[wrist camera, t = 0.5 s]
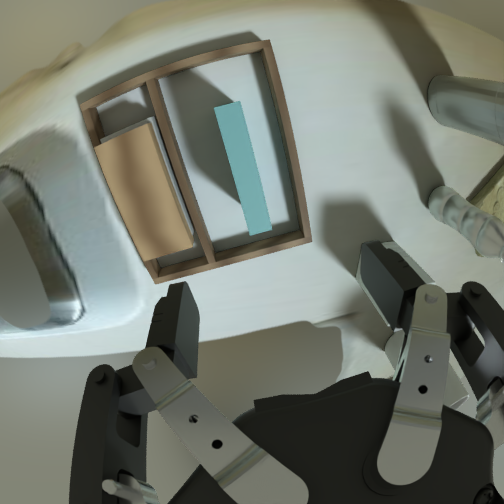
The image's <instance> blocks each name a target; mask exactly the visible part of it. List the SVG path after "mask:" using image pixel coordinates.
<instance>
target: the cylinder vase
mask: <svg viewBox="0 0 504 504" xmlns="http://www.w3.org/2000/svg"><path fill="white" fill-rule="evenodd" d="M404 334H405V333H404V331H403V329H402V330H399V331H396V332H395V333H394V334H393V335H392V336H391V337H390V338H389V340H388V341H387V343H386V346H385V353H386V355H387V357H388V359H389V360H390V362H391V364H392V366H393V368H394V370H396V366H397V362H398V358H399V354H400V350H401V345H402V341H403V337H404ZM468 398H469V394H468V392H467V391H466V389H465V387H464V386H463V384H462V382H461V381H460V379H459V377H458V376H457V374H456V372H455V371H454V369H453V368H452V366H451V365H450V363H449V365H448V374H447V382H446V389H445V395H444V401H443V404H444V405H446V406H448V407H450V408H452V409H454V410H456V409H458V408H459V407H460V406H461V405H462V404H463V403H464V402H465V401H466V400H467V399H468Z"/></svg>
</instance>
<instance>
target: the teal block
mask: <svg viewBox="0 0 504 504" xmlns="http://www.w3.org/2000/svg"><path fill="white" fill-rule="evenodd" d="M214 111H215V114H216V118H217V121H218V125H219V128H220V132H221V135H222V139H223V142H224V146H225V149H226V153H227V156H228V160H229V163H230V167H231V170H232V174H233V177H234V181H235V184H236V188H237V191H238V195H239V198H240V202H241V205H242V209H243V212H244V216H245V220H246V223H247V227H248V230H249V234H250V236H251V235H255V234H258V233H262V232H266V231H269V230H272V226H271V222H270V217H269V213H268V209H267V205H266V201H265V197H264V192H263V188H262V184H261V180H260V176H259V172H258V168H257V164H256V160H255V156H254V152H253V148H252V144H251V141H250V137H249V133H248V129H247V125H246V121H245V118H244V114H243V110H242V106H241V103H240V101H238V102H233V103H229V104H226V105H222V106H218V107H215V108H214Z"/></svg>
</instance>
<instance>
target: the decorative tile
mask: <svg viewBox="0 0 504 504" xmlns="http://www.w3.org/2000/svg"><path fill="white" fill-rule="evenodd" d="M469 203H471V204H472V205H474V206H475V207H477V208H479V209H481V210H483V211H485V212H487V213H489V214H491V215H493V216H496V217H497V218H499V219H500V220H501V221H502V222H503V223H504V164H503V165H502V167H501V168H500V169H499V170H498V171H497V172H496V174H495V175H494V176H493V177H492V178H491V179H490V181H489V182H488V183H487V184H486V185H485V186H484V187H483V188H482V189H481V191H480V192H479V193H478V194H477V195H476V196H475V197H474V198H473V199H472V200H471V201H470V202H469ZM475 252H476V254H477V256H481V254H480V253H479V252H478V251H477V250H476V249H475ZM481 257H484V256H481Z"/></svg>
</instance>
